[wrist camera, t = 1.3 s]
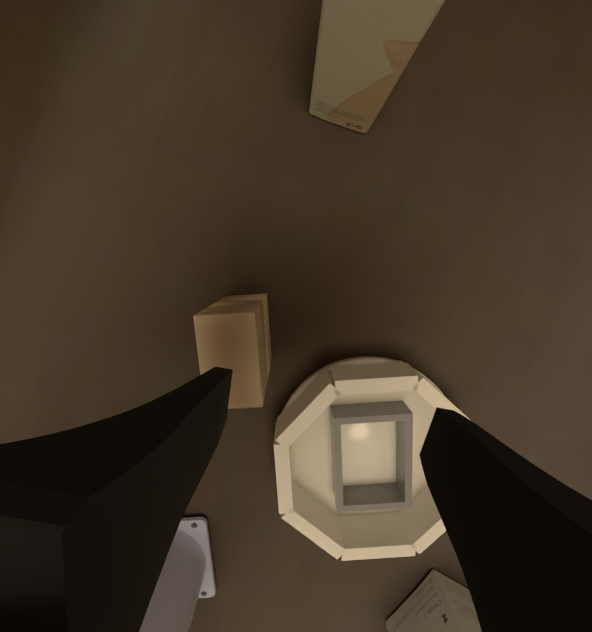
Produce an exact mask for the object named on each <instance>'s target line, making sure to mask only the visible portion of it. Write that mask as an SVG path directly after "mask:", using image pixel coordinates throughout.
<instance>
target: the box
mask: <svg viewBox="0 0 592 632" xmlns="http://www.w3.org/2000/svg"><path fill="white" fill-rule="evenodd" d="M444 1H445V0H323V2H322V10H321V18H320V25H319V34H318V42H317V50H316V58H315V66H314V74H313V83H312V91H311V100H310V107H309V113H310V114H312V115H314V116H316V117H319V118H321V119H324V120H326V121H329V122H332V123H334V124H337V125H340V126H343V127H346V128H349V129H352V130H355V131H358V132H361V133H365V134H366V133H367V132H368V131H369V129H370V127H371V125H372V124H373V122H374V120H375V118H376V117H377V115H378V113H379V112H380V110H381V108H382V106H383V105H384V103H385V101H386V100H387V98H388V96H389V95H390V93H391V91H392V89H393V88H394V86H395V84H396V83H397V81H398V79H399V77H400V76H401V74H402V72H403V71H404V69H405V67H406V65H407V64H408V62H409V60H410V59H411V57H412V55H413V54H414V52H415V50H416V48H417V47H418V45H419V43H420V41H421V40H422V38H423V37H424V35H425V33H426V31H427V30H428V28H429V26H430V25H431V23H432V21H433V20H434V18H435V16H436V15H437V13H438V11H439V10H440V8H441V6H442V5H443V3H444Z"/></svg>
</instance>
